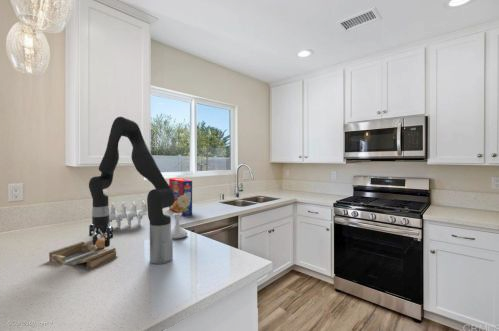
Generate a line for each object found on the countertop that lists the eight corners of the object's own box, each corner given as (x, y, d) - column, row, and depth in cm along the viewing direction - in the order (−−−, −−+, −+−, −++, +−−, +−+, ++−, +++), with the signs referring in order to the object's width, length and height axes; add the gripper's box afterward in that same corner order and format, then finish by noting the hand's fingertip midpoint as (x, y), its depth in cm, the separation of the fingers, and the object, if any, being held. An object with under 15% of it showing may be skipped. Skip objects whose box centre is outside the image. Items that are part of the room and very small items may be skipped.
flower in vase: (166, 241, 139) (166, 197, 138) (167, 234, 150) (167, 194, 149) (190, 239, 142) (190, 196, 141) (189, 233, 153) (190, 193, 152)
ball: (109, 247, 129) (108, 237, 128) (100, 250, 124) (100, 240, 124) (102, 245, 130) (101, 236, 130) (93, 249, 126) (93, 239, 126)
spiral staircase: (105, 234, 162) (146, 227, 174) (103, 229, 147) (148, 222, 159) (103, 207, 167) (143, 202, 179) (102, 200, 153) (145, 195, 165)
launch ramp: (116, 260, 115) (116, 248, 115) (91, 271, 104) (91, 258, 103) (95, 255, 120) (95, 244, 119) (69, 265, 108) (69, 253, 108)
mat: (119, 257, 116) (119, 255, 116) (88, 271, 102) (88, 269, 102) (82, 249, 125) (82, 248, 125) (49, 261, 111) (49, 259, 111)
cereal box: (169, 209, 217) (169, 178, 216) (177, 208, 222) (177, 178, 221) (182, 216, 196) (182, 181, 195) (192, 214, 201) (192, 180, 200)
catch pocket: (94, 251, 122) (94, 243, 122) (62, 264, 108) (62, 255, 108) (82, 249, 125) (82, 241, 125) (49, 261, 111) (49, 252, 111)
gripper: (117, 214, 128) (117, 245, 128) (97, 211, 133) (98, 241, 133) (104, 217, 120) (104, 250, 121) (83, 214, 125) (84, 246, 126)
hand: (101, 245), depth 127 cm, fingers open, 8 cm apart
